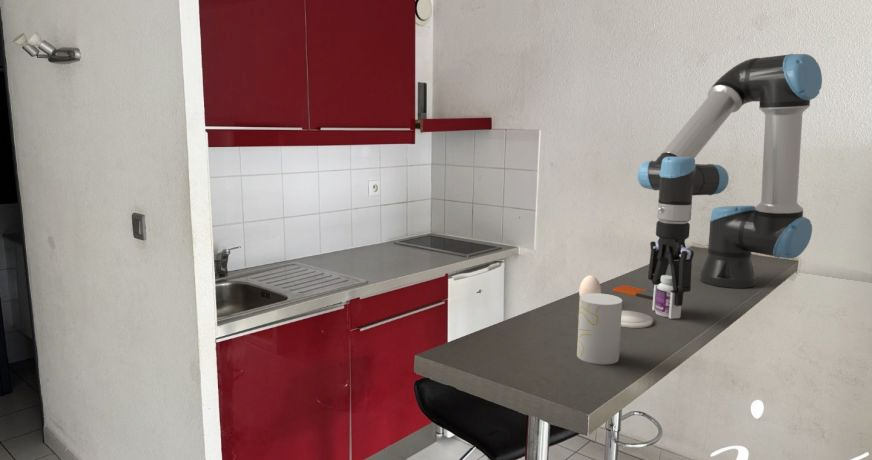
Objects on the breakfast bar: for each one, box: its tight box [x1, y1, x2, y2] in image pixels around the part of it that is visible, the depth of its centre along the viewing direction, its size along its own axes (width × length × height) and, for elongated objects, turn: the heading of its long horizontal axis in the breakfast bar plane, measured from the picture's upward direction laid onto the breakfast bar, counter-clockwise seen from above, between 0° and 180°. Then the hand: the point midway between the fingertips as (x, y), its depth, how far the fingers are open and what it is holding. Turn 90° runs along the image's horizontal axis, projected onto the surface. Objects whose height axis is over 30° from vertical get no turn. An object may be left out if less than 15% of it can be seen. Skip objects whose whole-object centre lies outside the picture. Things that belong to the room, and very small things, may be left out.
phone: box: [612, 284, 653, 301], centre depth 166 cm, size 6×1×15 cm
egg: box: [578, 275, 602, 297], centre depth 155 cm, size 6×6×8 cm
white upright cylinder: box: [576, 292, 623, 365], centre depth 119 cm, size 8×8×12 cm
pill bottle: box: [654, 274, 679, 318], centre depth 147 cm, size 5×5×10 cm
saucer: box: [621, 310, 654, 329], centre depth 143 cm, size 11×11×1 cm
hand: (665, 313), depth 148 cm, fingers open, 6 cm apart
